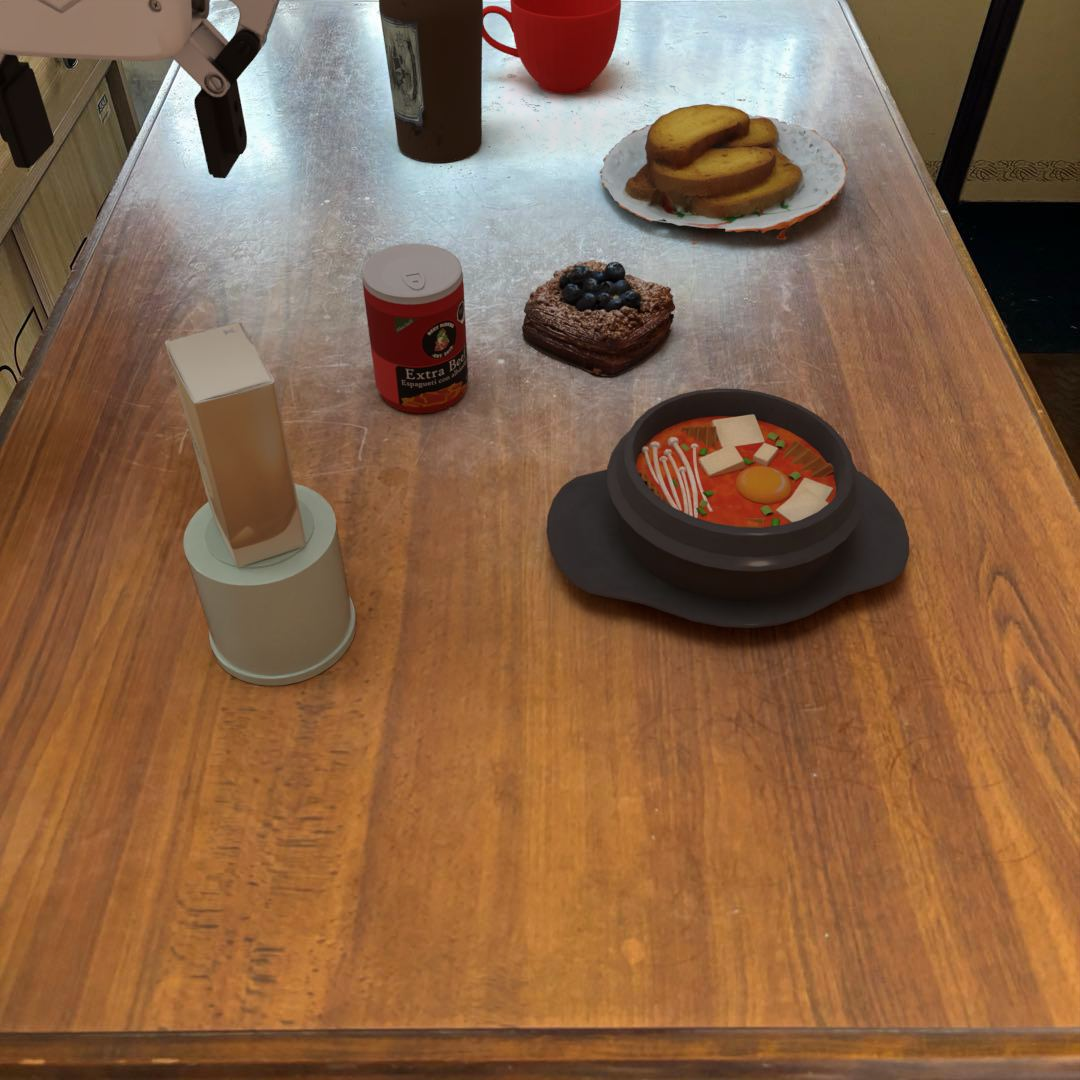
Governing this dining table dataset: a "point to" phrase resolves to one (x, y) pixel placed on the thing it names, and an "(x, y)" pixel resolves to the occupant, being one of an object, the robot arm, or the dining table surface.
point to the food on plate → (723, 170)
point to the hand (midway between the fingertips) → (131, 160)
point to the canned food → (416, 326)
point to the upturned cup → (274, 599)
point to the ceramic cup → (561, 40)
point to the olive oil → (435, 75)
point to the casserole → (728, 514)
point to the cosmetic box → (238, 441)
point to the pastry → (598, 318)
